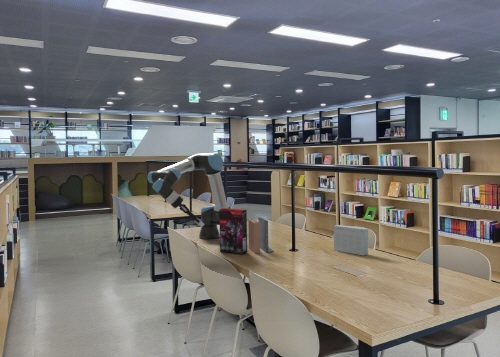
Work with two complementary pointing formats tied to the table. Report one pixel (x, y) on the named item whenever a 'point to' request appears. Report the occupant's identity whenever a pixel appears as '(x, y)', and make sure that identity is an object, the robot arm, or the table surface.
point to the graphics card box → (233, 230)
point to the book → (254, 235)
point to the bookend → (264, 235)
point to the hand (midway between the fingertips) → (202, 225)
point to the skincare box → (351, 239)
